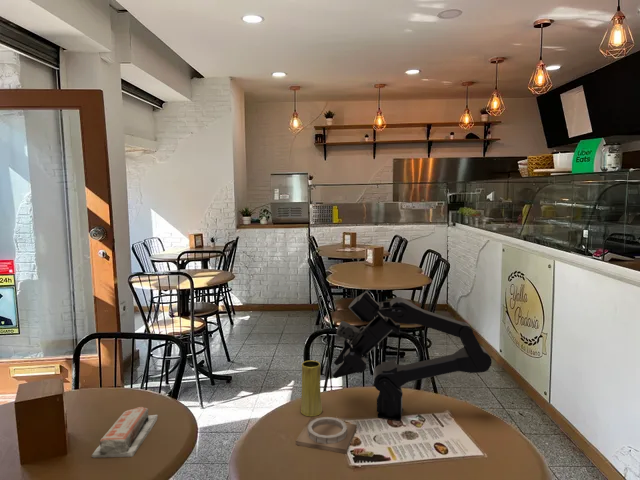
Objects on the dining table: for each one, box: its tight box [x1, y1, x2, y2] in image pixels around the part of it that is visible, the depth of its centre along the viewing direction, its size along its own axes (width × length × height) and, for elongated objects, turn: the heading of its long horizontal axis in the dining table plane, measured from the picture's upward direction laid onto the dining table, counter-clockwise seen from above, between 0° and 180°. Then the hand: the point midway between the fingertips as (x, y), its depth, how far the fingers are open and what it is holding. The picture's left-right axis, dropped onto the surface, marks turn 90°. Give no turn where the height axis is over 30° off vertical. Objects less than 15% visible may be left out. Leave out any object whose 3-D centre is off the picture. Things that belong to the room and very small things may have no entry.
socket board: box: [295, 416, 358, 454], centre depth 113 cm, size 13×12×2 cm
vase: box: [300, 359, 323, 417], centre depth 125 cm, size 6×6×14 cm
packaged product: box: [91, 406, 159, 459], centre depth 113 cm, size 18×5×10 cm
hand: (334, 370), depth 124 cm, fingers open, 9 cm apart
